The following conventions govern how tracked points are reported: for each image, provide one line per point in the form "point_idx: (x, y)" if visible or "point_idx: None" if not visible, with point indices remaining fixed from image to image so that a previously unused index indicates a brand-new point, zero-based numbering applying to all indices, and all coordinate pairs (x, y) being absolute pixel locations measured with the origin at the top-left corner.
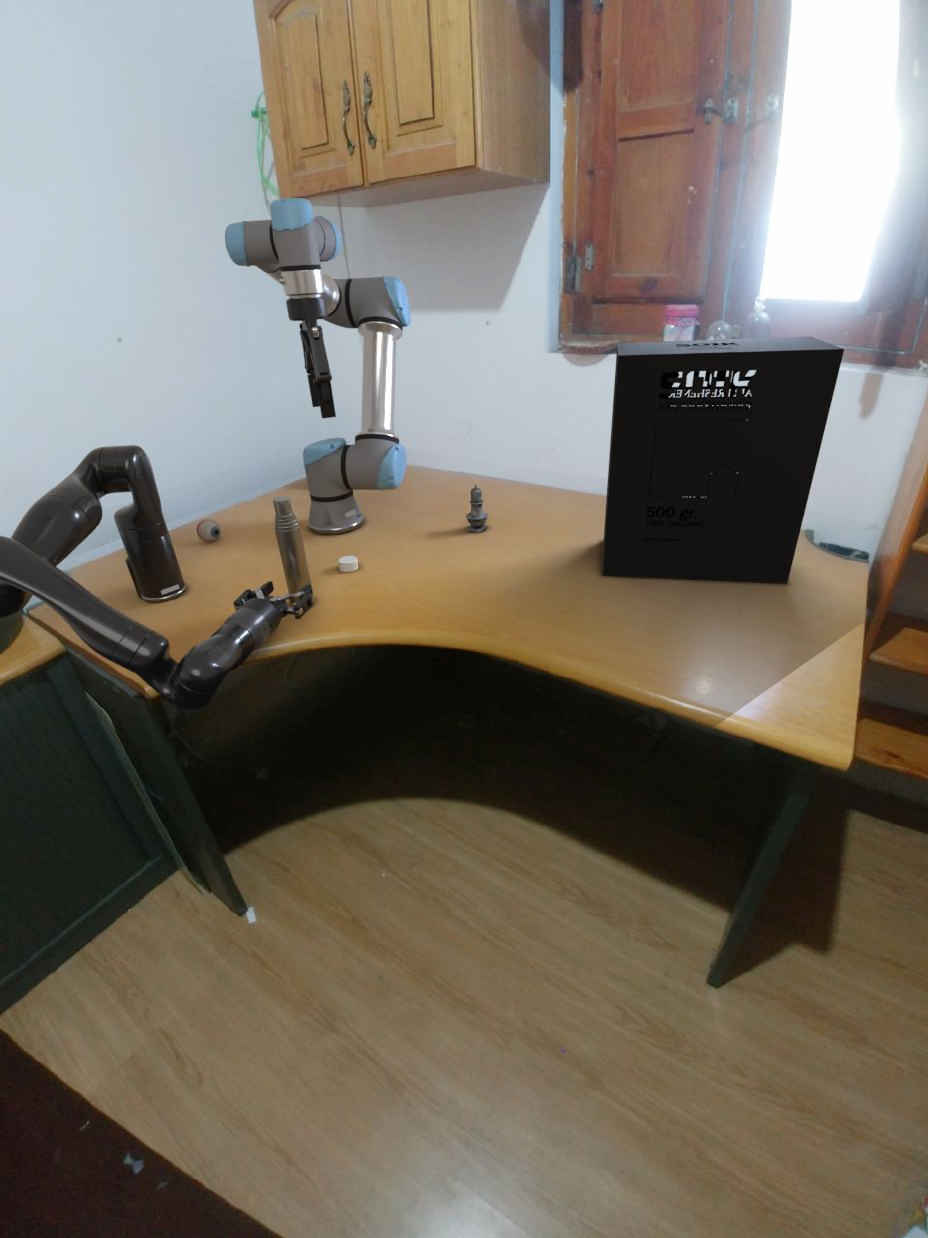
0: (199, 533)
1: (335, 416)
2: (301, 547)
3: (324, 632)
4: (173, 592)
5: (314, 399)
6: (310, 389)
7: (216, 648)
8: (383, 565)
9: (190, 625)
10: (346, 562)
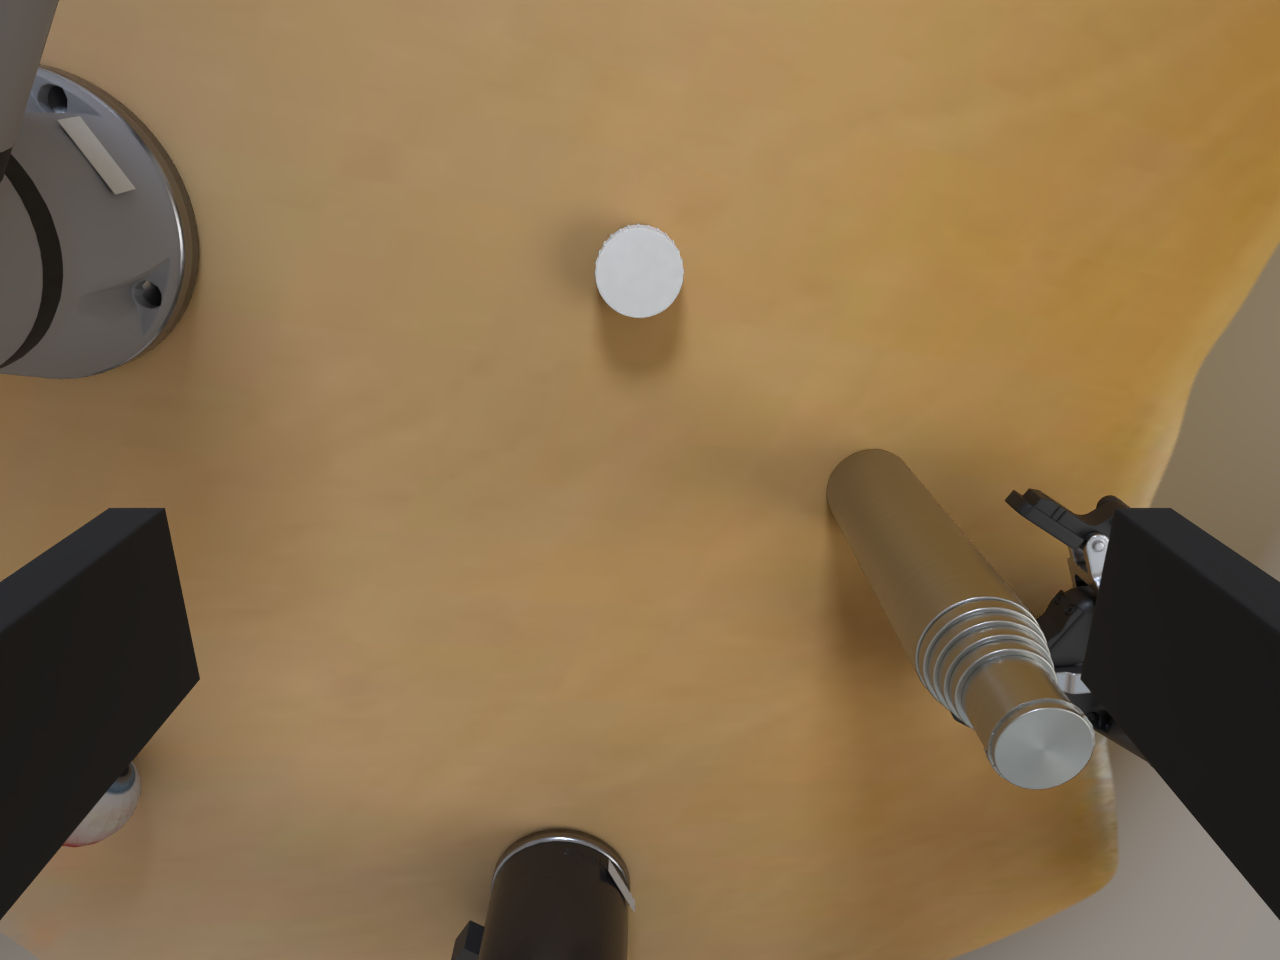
0: (121, 826)
1: (1168, 514)
2: (986, 560)
3: (1131, 450)
4: (617, 870)
5: (141, 710)
6: (39, 863)
7: None
8: (683, 104)
9: (835, 809)
10: (672, 286)
